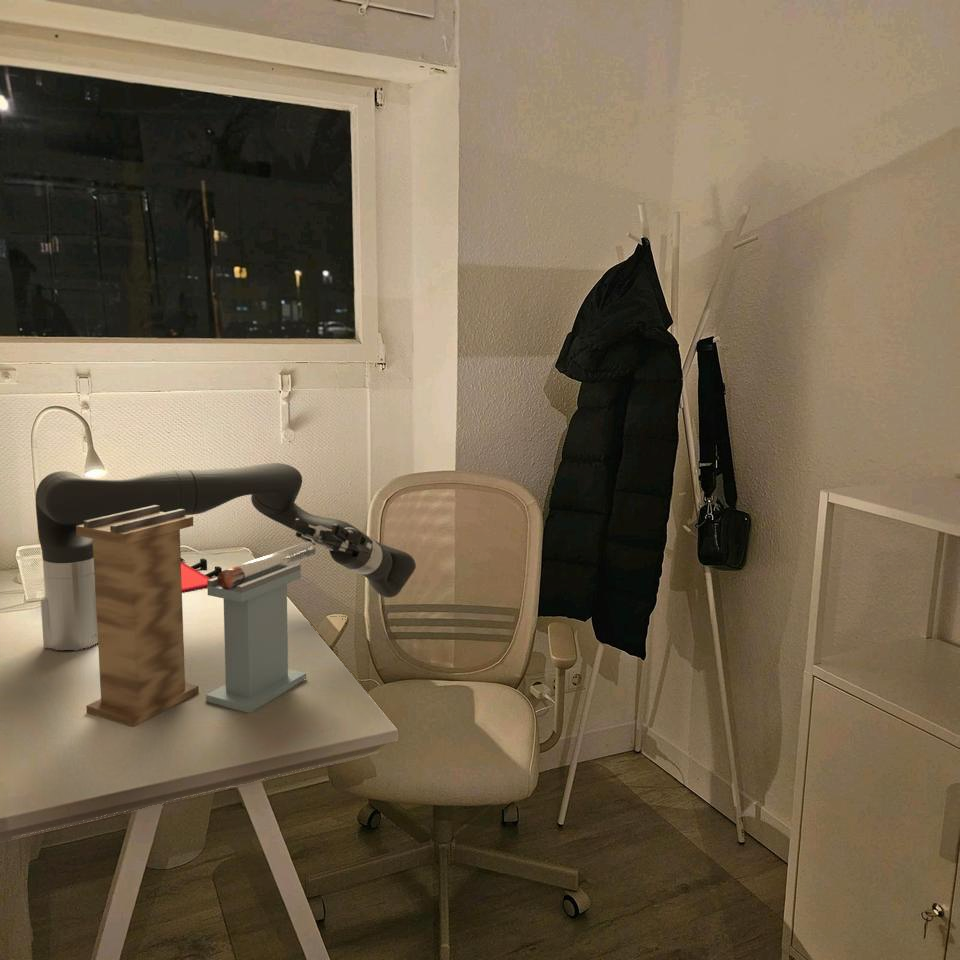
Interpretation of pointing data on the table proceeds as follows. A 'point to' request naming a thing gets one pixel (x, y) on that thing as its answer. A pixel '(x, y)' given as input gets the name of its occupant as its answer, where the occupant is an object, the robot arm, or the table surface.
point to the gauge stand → (138, 612)
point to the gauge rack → (255, 641)
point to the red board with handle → (196, 575)
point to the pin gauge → (265, 565)
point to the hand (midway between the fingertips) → (314, 526)
